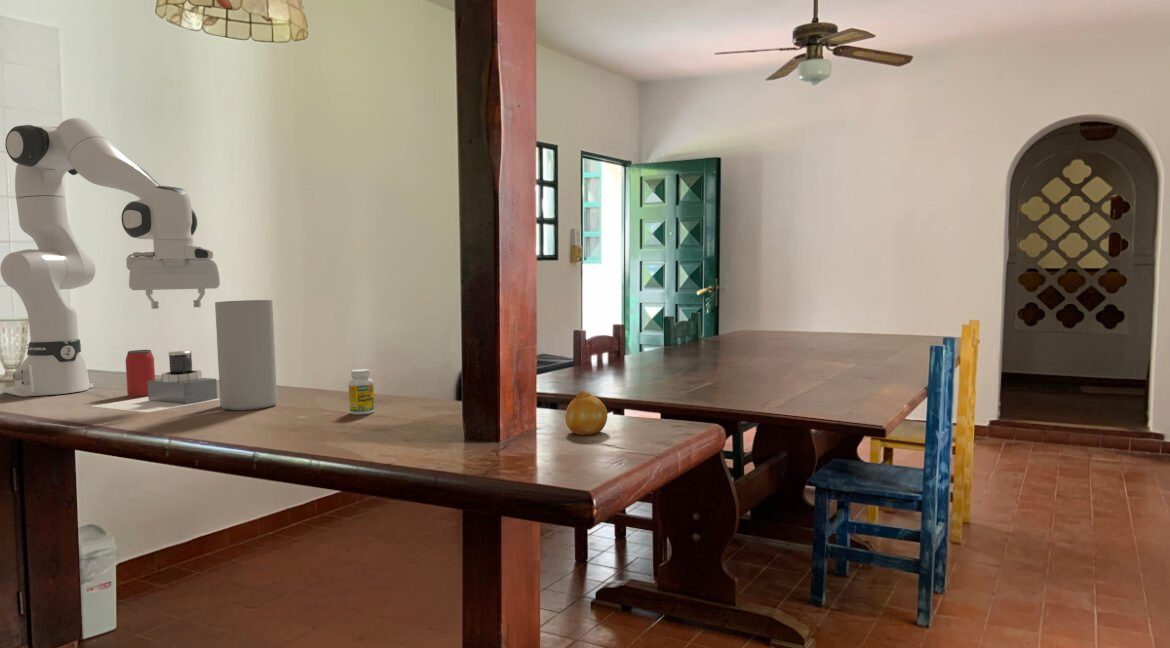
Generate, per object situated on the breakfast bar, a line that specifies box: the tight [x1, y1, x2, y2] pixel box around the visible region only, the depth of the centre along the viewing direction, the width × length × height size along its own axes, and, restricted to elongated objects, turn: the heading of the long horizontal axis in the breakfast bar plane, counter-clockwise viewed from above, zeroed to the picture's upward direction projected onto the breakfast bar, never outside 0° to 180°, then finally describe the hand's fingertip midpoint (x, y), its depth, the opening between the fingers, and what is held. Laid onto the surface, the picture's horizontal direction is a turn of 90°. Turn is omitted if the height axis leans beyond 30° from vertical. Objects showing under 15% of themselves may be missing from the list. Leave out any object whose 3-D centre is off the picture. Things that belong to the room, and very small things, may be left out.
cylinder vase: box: [214, 299, 278, 412], centre depth 197 cm, size 12×12×25 cm
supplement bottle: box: [348, 368, 375, 416], centre depth 185 cm, size 5×5×10 cm
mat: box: [90, 396, 220, 414], centre depth 204 cm, size 22×20×1 cm
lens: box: [168, 350, 193, 374], centre depth 207 cm, size 5×5×7 cm
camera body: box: [147, 369, 218, 404], centre depth 208 cm, size 14×9×7 cm, turn 61°
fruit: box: [564, 391, 608, 436], centre depth 158 cm, size 8×8×8 cm
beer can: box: [125, 349, 156, 398], centre depth 217 cm, size 7×7×12 cm
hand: (176, 307), depth 207 cm, fingers open, 8 cm apart
